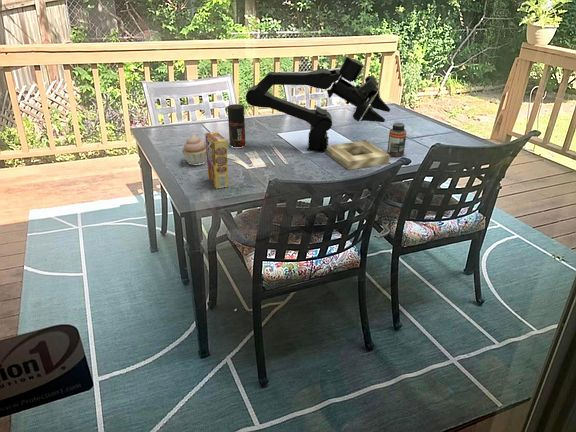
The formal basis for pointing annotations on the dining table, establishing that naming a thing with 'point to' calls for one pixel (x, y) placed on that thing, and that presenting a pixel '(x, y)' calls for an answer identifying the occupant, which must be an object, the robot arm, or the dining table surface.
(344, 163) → the socket block
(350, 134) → the dining table surface
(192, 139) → the cupcake
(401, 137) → the supplement bottle
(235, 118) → the deodorant
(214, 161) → the candy box
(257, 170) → the dining table surface
